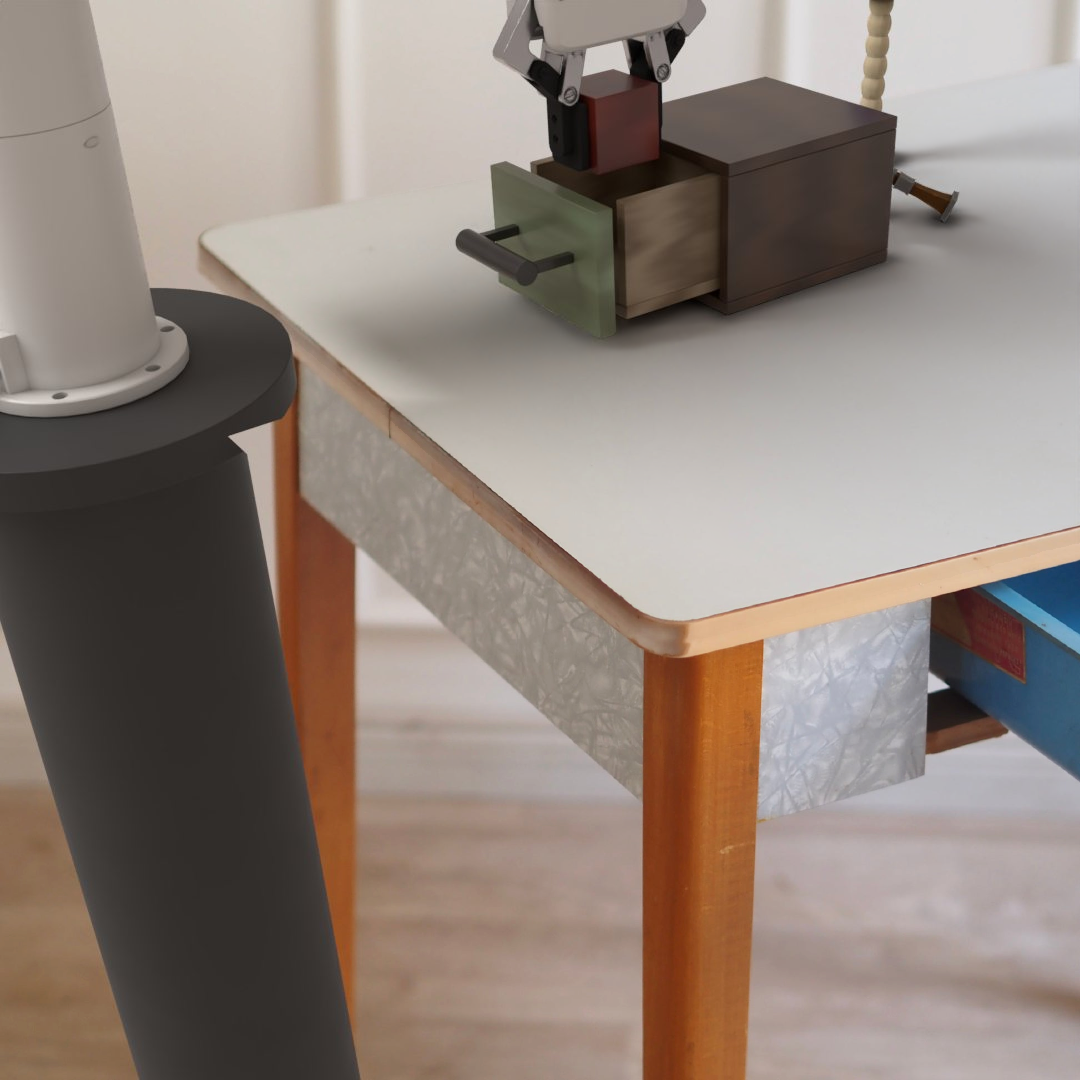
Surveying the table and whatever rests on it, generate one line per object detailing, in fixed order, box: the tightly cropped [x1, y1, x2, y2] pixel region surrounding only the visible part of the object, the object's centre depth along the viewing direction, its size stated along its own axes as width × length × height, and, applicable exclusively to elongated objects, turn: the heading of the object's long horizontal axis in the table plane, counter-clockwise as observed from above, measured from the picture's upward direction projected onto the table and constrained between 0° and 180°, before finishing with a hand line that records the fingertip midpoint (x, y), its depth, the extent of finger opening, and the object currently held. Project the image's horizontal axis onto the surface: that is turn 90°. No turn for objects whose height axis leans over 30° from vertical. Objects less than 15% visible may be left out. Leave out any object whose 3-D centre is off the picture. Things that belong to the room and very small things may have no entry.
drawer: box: [455, 150, 722, 340], centre depth 93 cm, size 17×11×8 cm
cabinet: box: [660, 75, 898, 315], centre depth 98 cm, size 14×13×10 cm
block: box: [579, 68, 659, 175], centre depth 89 cm, size 4×4×4 cm
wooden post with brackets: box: [892, 166, 960, 223], centre depth 105 cm, size 2×8×4 cm, turn 72°
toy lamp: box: [858, 0, 895, 112], centre depth 111 cm, size 5×5×17 cm
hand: (606, 152), depth 90 cm, fingers closed on block, 4 cm apart
